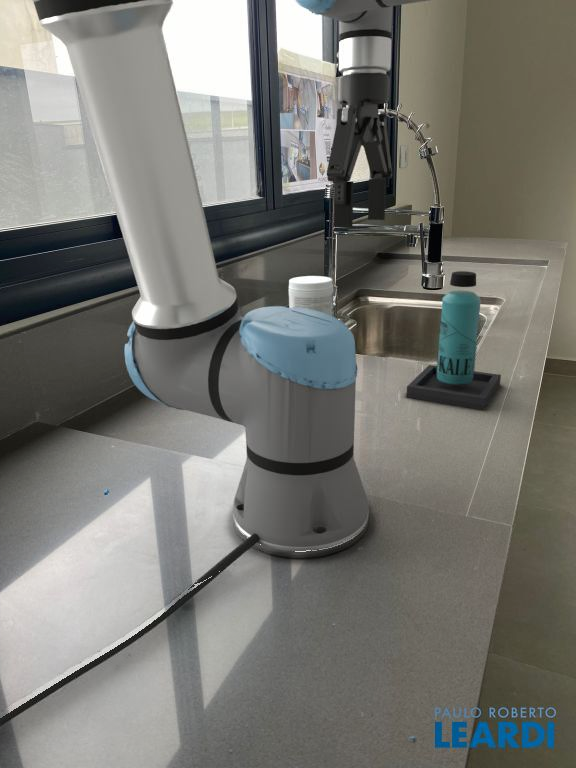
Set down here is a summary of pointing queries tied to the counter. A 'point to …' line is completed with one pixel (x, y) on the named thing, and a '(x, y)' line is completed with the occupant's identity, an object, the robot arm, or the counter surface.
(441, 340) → the beverage bottle
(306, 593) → the counter surface
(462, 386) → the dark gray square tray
